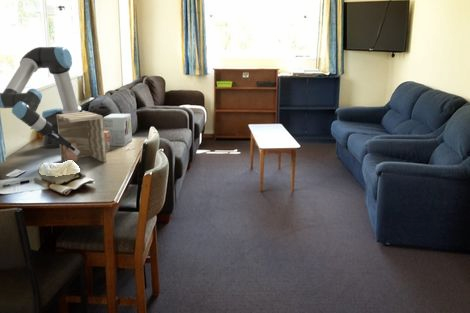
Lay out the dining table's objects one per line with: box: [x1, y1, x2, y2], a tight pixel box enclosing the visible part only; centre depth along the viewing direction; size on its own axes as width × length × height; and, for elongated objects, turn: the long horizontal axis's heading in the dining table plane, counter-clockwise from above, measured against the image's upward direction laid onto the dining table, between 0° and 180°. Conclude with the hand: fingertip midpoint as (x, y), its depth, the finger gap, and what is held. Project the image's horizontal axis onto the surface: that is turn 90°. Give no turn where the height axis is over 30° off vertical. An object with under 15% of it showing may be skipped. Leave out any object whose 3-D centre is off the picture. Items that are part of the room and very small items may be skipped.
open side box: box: [57, 111, 107, 163], centre depth 252 cm, size 21×17×26 cm
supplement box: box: [103, 113, 133, 147], centre depth 297 cm, size 17×13×18 cm
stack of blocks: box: [104, 131, 112, 153], centre depth 276 cm, size 21×6×12 cm, turn 90°
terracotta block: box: [63, 141, 79, 162], centre depth 245 cm, size 5×5×10 cm
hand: (76, 152), depth 248 cm, fingers closed on terracotta block, 5 cm apart
